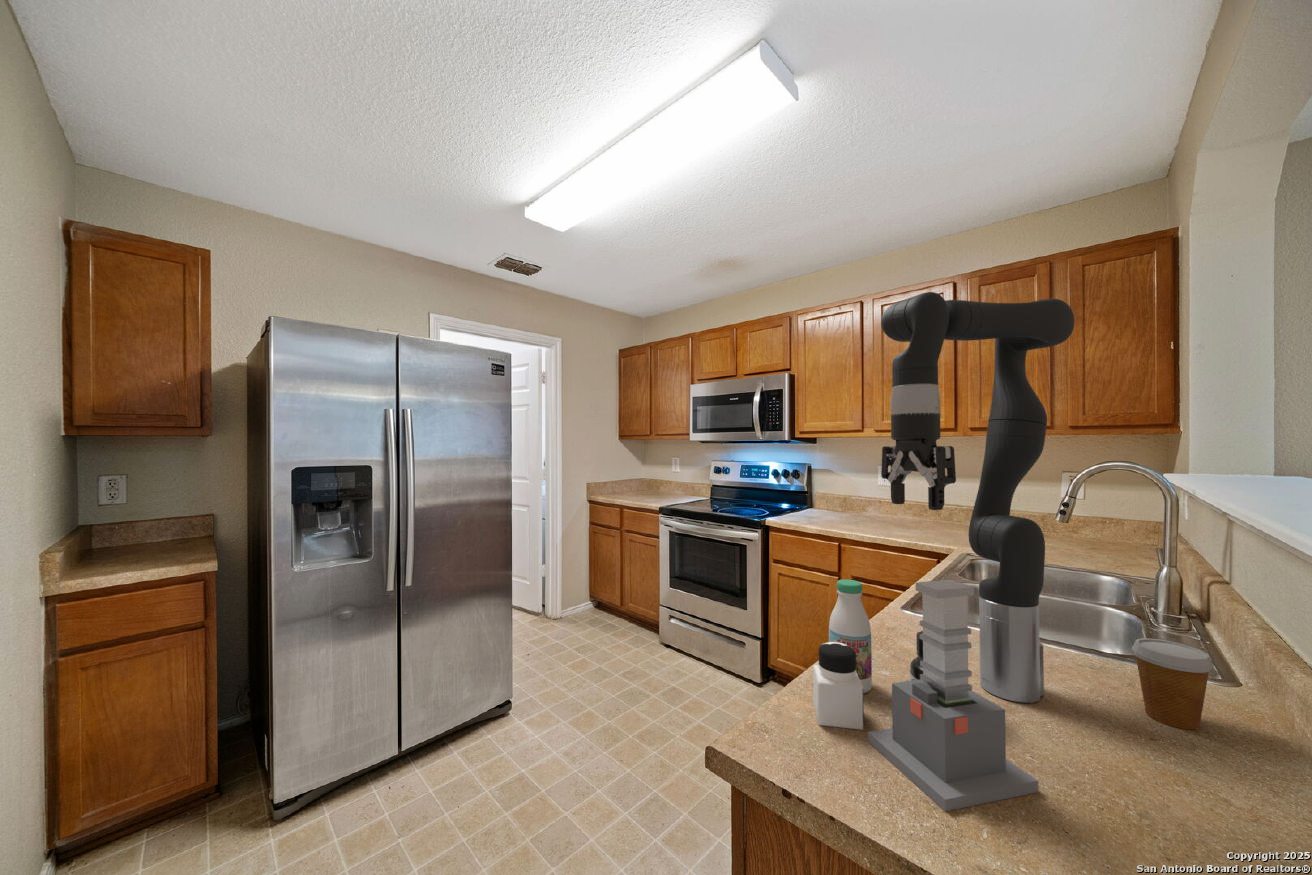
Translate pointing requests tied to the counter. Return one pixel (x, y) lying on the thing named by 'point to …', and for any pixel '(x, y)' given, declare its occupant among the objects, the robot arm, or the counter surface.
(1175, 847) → the counter surface
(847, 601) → the milk bottle
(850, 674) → the medicine bottle
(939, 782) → the stand base
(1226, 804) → the counter surface
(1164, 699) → the disposable coffee cup
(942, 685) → the column
